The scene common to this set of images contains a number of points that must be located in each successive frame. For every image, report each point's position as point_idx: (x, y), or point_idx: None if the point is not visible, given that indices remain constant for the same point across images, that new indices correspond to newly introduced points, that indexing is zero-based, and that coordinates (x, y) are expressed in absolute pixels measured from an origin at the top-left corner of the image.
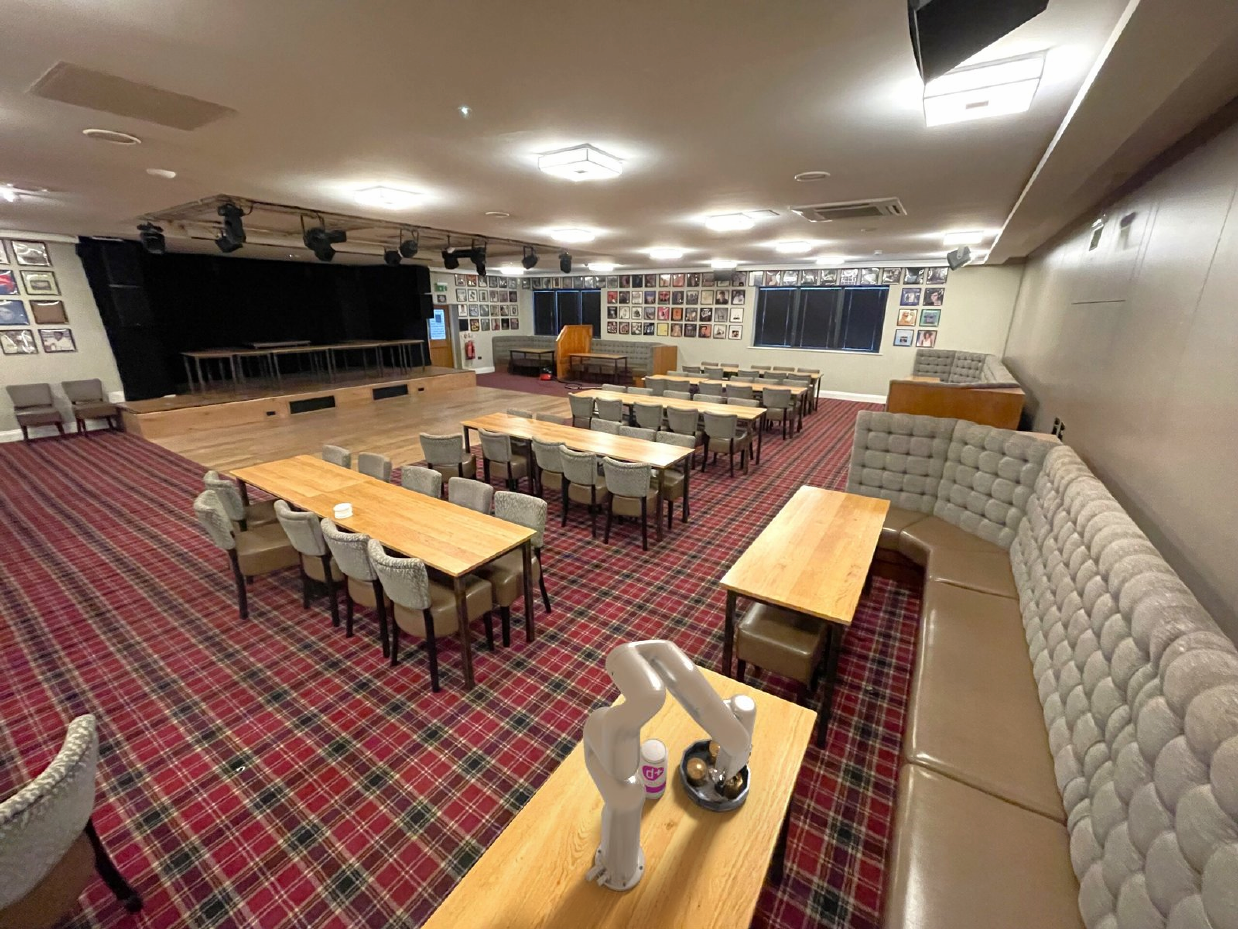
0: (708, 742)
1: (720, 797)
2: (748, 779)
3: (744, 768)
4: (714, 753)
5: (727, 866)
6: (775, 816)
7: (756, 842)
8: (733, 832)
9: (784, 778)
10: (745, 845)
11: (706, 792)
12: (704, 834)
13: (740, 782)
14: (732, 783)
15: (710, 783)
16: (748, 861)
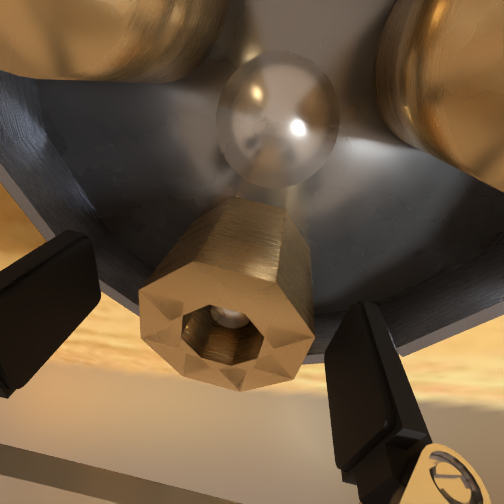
0: None
1: (169, 225)
2: None
3: (335, 438)
4: (448, 21)
5: None
6: (275, 389)
7: (153, 360)
8: (115, 302)
9: (464, 399)
10: (117, 339)
11: (126, 137)
12: (5, 217)
13: (229, 384)
14: (180, 348)
15: (200, 128)
16: (89, 352)
